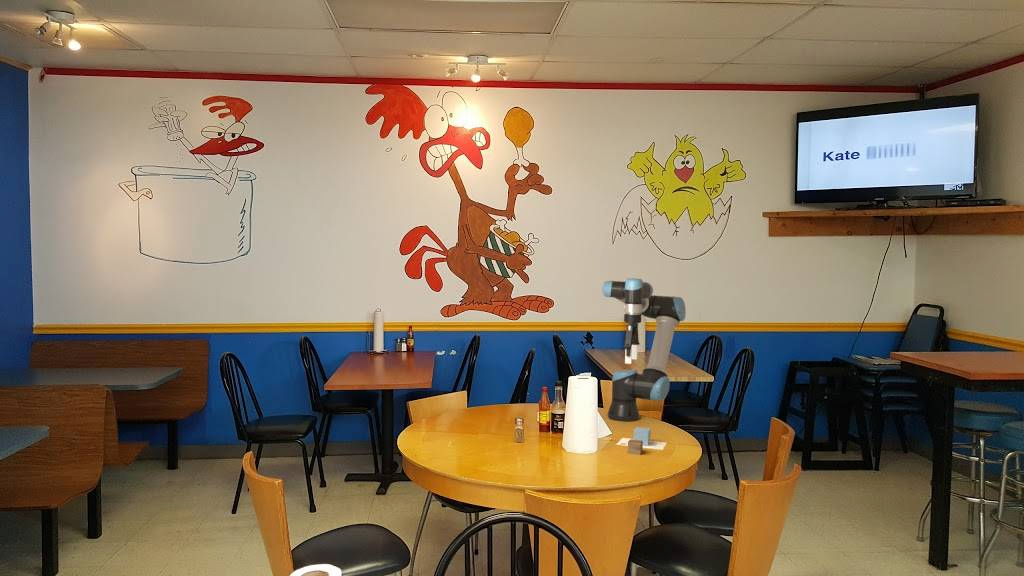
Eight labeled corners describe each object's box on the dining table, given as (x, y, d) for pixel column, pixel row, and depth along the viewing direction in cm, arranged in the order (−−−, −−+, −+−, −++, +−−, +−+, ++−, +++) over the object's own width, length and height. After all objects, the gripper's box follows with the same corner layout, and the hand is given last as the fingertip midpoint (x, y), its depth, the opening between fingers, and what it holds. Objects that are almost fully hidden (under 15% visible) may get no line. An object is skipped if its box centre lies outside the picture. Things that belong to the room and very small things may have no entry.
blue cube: (635, 441, 319) (636, 427, 319) (650, 442, 317) (650, 428, 317) (633, 444, 314) (633, 430, 313) (647, 446, 312) (648, 431, 311)
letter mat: (619, 436, 327) (619, 436, 327) (671, 442, 319) (671, 441, 319) (611, 445, 312) (611, 445, 312) (665, 452, 304) (665, 451, 304)
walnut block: (630, 451, 305) (630, 439, 304) (642, 452, 303) (642, 440, 303) (627, 454, 300) (627, 442, 300) (640, 455, 298) (640, 443, 298)
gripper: (629, 311, 346) (628, 357, 347) (618, 315, 322) (617, 364, 323) (646, 311, 343) (644, 358, 344) (636, 316, 320) (634, 366, 321)
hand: (631, 361), depth 334 cm, fingers open, 13 cm apart
